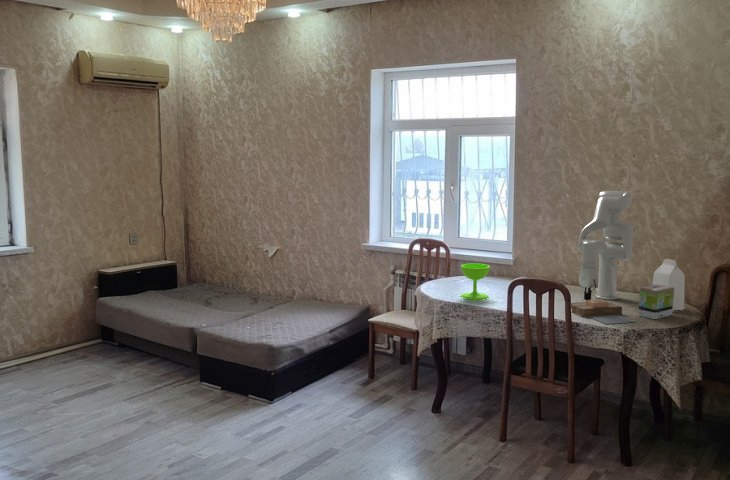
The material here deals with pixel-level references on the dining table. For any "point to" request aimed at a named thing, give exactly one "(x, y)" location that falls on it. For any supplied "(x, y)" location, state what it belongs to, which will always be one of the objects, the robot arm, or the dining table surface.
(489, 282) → the dining table surface
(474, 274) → the wineglass
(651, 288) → the tea box
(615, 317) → the mat
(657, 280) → the milk
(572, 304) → the brown flat block
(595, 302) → the tile
